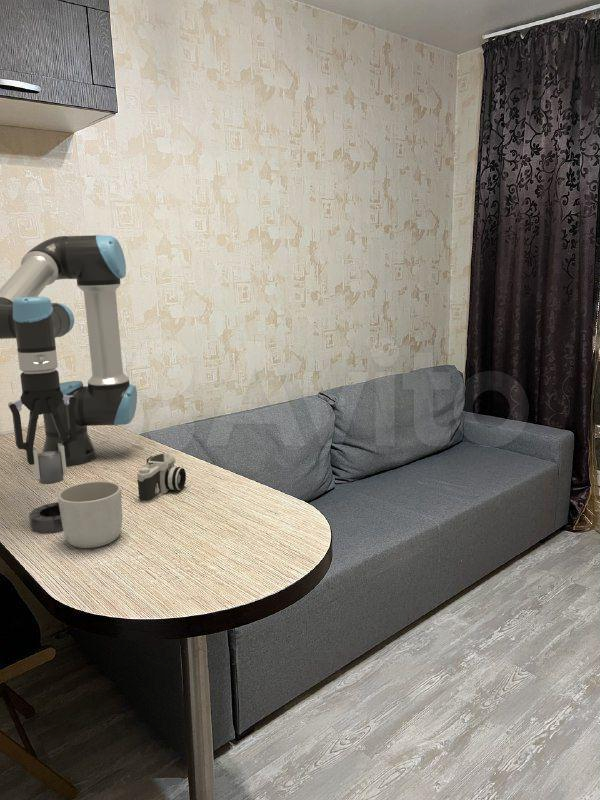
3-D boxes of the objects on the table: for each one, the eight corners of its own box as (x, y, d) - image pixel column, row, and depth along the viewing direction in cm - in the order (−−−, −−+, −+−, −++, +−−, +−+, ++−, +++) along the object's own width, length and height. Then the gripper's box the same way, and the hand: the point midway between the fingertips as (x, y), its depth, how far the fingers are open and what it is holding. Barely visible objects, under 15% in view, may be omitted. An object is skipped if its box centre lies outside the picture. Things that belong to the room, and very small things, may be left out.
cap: (37, 479, 137) (34, 452, 136) (61, 475, 140) (58, 449, 138) (41, 485, 133) (38, 458, 132) (65, 481, 136) (62, 454, 134)
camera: (166, 505, 148) (163, 465, 146) (133, 503, 150) (130, 463, 148) (192, 482, 163) (190, 446, 161) (162, 480, 165) (159, 444, 163)
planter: (76, 527, 137) (71, 480, 134) (132, 527, 136) (128, 480, 134) (53, 553, 124) (47, 502, 122) (114, 553, 124) (109, 502, 122)
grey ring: (27, 520, 141) (26, 508, 140) (75, 510, 146) (74, 498, 145) (35, 537, 132) (34, 524, 131) (86, 525, 137) (85, 513, 137)
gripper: (-5, 377, 124) (8, 488, 128) (86, 368, 133) (96, 472, 138) (-10, 372, 130) (4, 478, 135) (78, 364, 139) (88, 463, 144)
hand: (50, 475), depth 136 cm, fingers closed on cap, 5 cm apart
